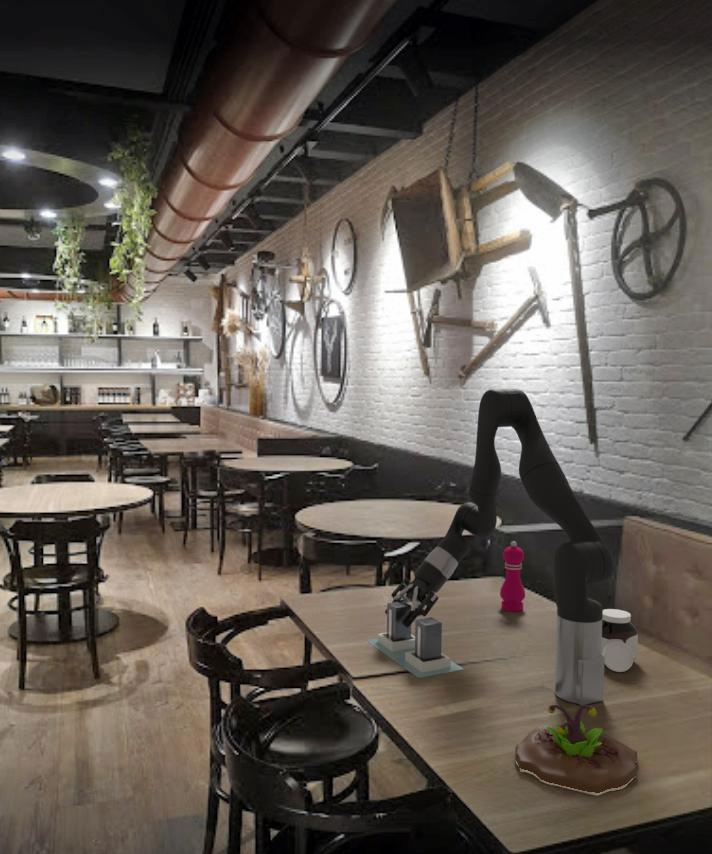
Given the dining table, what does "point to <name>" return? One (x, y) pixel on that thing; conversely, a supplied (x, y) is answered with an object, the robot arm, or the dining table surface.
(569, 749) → the plant
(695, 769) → the dining table surface
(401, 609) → the loose billet
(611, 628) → the spread jar
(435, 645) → the seated billet
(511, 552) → the pepper mill
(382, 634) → the pallet
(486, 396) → the robot arm
